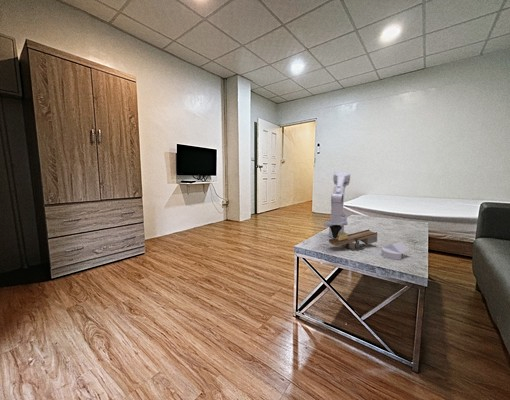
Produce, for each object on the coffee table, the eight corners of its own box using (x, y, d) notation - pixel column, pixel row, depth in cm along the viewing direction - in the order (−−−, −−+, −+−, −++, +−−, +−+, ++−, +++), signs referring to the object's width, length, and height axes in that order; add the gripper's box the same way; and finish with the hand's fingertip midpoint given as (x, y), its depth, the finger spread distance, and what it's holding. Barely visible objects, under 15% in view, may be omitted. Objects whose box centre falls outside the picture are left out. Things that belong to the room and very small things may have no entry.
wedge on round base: (391, 250, 120) (377, 254, 114) (392, 239, 119) (378, 242, 113) (408, 256, 113) (394, 261, 107) (410, 244, 112) (396, 248, 106)
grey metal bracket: (340, 244, 129) (341, 234, 128) (351, 243, 131) (352, 233, 130) (352, 250, 119) (353, 239, 118) (363, 249, 121) (364, 238, 120)
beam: (329, 248, 125) (328, 239, 123) (369, 238, 132) (368, 229, 131) (336, 253, 118) (335, 243, 117) (377, 241, 126) (377, 232, 125)
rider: (334, 240, 123) (334, 233, 122) (343, 238, 125) (342, 231, 124) (339, 242, 119) (338, 236, 119) (347, 240, 121) (347, 233, 120)
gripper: (329, 216, 113) (328, 241, 115) (352, 215, 117) (350, 238, 119) (322, 214, 119) (320, 237, 121) (343, 212, 123) (341, 235, 125)
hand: (334, 237), depth 120 cm, fingers closed
